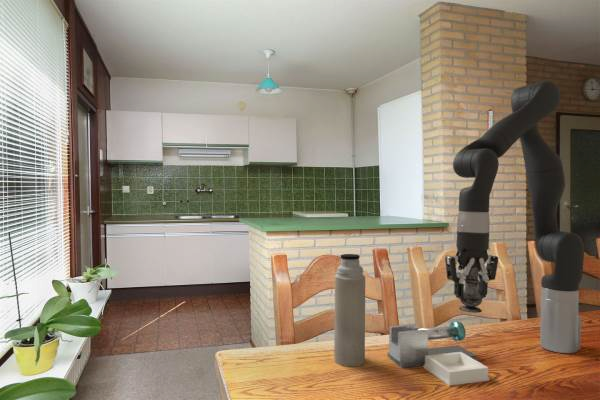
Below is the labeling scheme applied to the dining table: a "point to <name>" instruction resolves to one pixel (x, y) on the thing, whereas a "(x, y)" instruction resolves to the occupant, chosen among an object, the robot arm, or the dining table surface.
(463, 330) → the shaft
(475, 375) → the holder
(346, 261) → the thermos bottle
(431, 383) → the dining table surface
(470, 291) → the dark grey turned piece
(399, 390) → the dining table surface
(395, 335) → the bearing block
